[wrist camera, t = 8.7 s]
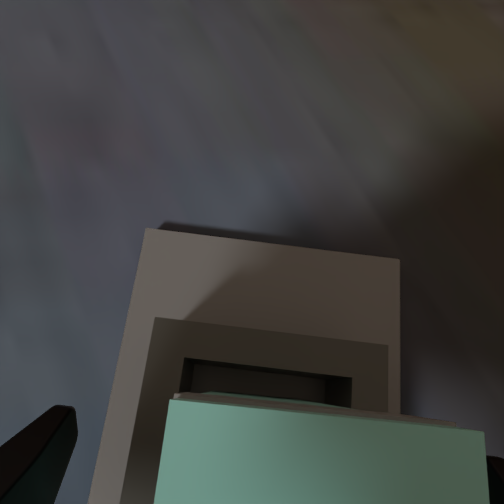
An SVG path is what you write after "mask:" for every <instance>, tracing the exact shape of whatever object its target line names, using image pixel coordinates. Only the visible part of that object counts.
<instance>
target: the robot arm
mask: <svg viewBox="0 0 504 504" xmlns="http://www.w3.org/2000/svg"><path fill="white" fill-rule="evenodd" d="M77 437H78V428H77V419H76V411H75V408H74V407H72V406H65V405H55V406H53V407H51V408H50V409H49V410H47V411H46V412H45V413H43V414H42V415H41V416H40V417H38V418H37V419H36V420H34V421H33V422H32V423H30V424H29V425H28V426H26V427H25V428H24V429H23V430H21V431H20V432H19V433H17V434H16V435H15V436H13V437H12V438H11V439H10V440H8V441H7V442H6V443H4V444H3V445H2V446H0V504H54V502H55V499H56V496H57V494H58V491H59V488H60V486H61V483H62V480H63V477H64V475H65V472H66V469H67V466H68V464H69V461H70V458H71V455H72V453H73V450H74V447H75V444H76V441H77ZM486 463H487V476H488V489H489V502H490V504H504V459H502V458H500V457H495V456H487V455H486Z"/></svg>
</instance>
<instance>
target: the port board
mask: <svg viewBox="0 0 504 504" xmlns="http://www.w3.org/2000/svg"><path fill="white" fill-rule="evenodd" d="M210 391H222V392H231V393H241V394H251V395H260V396H270V397H280V398H289V399H299V400H305V401H311V402H317V403H322V404H328V405H334V406H339V407H345V408H351V409H356V410H364V411H374V412H384V413H393V414H400V259H393V258H385V257H377V256H369V255H361V254H353V253H345V252H337V251H329V250H321V249H313V248H304V247H296V246H288V245H280V244H272V243H264V242H256V241H248V240H240V239H232V238H224V237H215V236H207V235H199V234H191V233H183V232H175V231H167V230H159V229H151V228H146V230H145V235H144V240H143V244H142V249H141V254H140V259H139V263H138V268H137V273H136V278H135V282H134V287H133V292H132V296H131V301H130V306H129V311H128V315H127V320H126V325H125V329H124V334H123V339H122V344H121V348H120V353H119V358H118V362H117V367H116V372H115V377H114V381H113V386H112V391H111V396H110V400H109V405H108V410H107V414H106V419H105V424H104V429H103V433H102V438H101V443H100V447H99V452H98V457H97V462H96V466H95V471H94V476H93V480H92V485H91V490H90V495H89V499H88V504H154V498H155V492H156V485H157V479H158V472H159V466H160V459H161V453H162V446H163V440H164V433H165V427H166V420H167V414H168V407H169V401H170V399H173V398H174V393H183V392H190V393H205V392H210Z"/></svg>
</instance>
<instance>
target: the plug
mask: <svg viewBox="0 0 504 504" xmlns="http://www.w3.org/2000/svg"><path fill="white" fill-rule="evenodd" d="M154 504H490V502H489V489H488V476H487V463H486V450H485V437H484V432H482V431H476V430H470V429H465V428H459V427H456V423H455V422H449V421H442V420H436V419H430V418H423V417H417V416H410V415H403V414H393V413H384V412H374V411H364V410H356V409H351V408H345V407H339V406H334V405H328V404H322V403H317V402H311V401H305V400H299V399H289V398H280V397H270V396H260V395H251V394H241V393H231V392H222V391H210V392H205V393H190V392H183V393H174V398H173V399H170V401H169V407H168V414H167V420H166V427H165V433H164V440H163V446H162V453H161V459H160V466H159V472H158V479H157V485H156V492H155V498H154Z"/></svg>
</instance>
